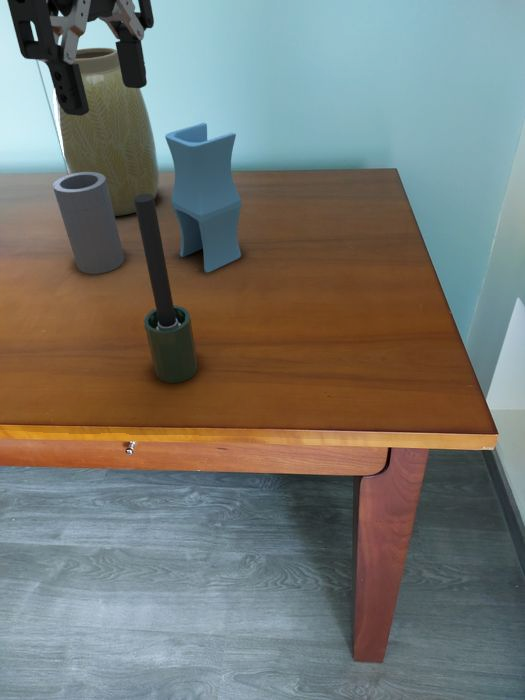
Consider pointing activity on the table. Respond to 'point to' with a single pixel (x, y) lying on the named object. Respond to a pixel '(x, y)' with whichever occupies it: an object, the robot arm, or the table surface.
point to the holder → (172, 347)
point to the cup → (89, 221)
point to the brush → (155, 261)
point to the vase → (110, 132)
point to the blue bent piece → (205, 195)
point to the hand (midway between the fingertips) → (108, 99)
